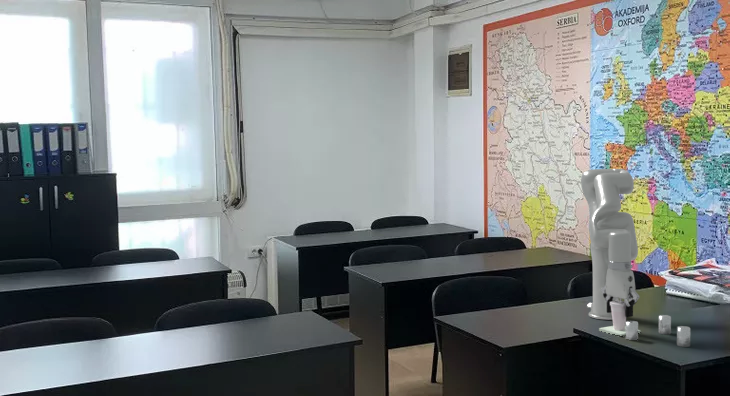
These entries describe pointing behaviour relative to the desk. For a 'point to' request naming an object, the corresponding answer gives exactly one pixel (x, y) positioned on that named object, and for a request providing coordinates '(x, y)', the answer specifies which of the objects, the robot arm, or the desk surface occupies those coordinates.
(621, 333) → the coaster mat
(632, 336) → the set of grey cylinders
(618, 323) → the smoothie
